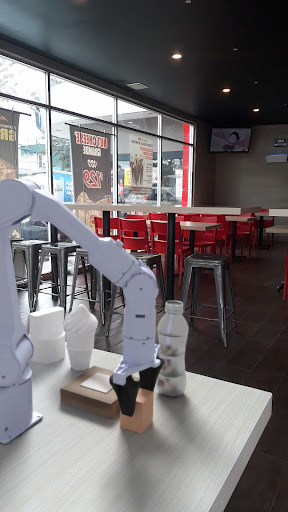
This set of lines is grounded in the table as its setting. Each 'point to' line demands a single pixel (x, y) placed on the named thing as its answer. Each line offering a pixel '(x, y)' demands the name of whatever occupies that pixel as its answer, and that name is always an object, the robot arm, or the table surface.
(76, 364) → the soft serve ice cream cone
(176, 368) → the plastic bottle
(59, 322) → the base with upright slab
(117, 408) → the walnut pedestal
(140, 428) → the terracotta cube
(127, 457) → the table surface
